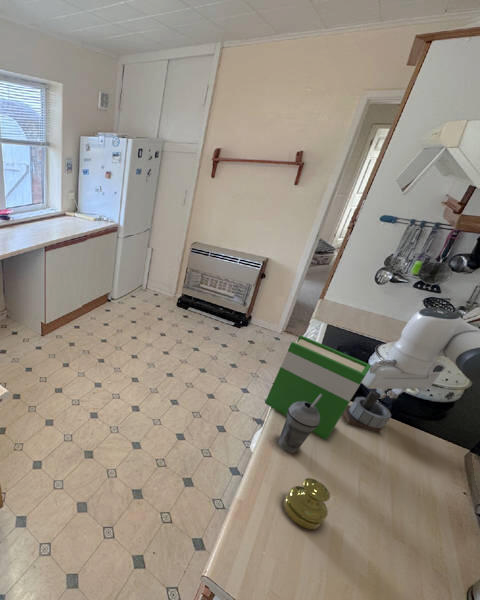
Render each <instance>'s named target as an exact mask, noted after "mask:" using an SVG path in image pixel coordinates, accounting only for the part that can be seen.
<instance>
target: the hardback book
mask: <svg viewBox="0 0 480 600" xmlns="http://www.w3.org/2000/svg"><path fill="white" fill-rule="evenodd" d="M371 366H372V365H371V363H370V364H369V363H367V362H365V361H363V360H360V359H358V358H356V357H353V356H351V355H349V354H346V353H343V352H341V351H340V350H337V349H334V348H332V347H330V346H328V345H325V344H323V343H320V342H318V341H316V340H313V339H311V338H309V337H306V336H304V335H302V334H299V336H298V338H297V341H296V342H294V341H291V343H290V345H289V347H288V349H287V351H286V354H285V356H284V358H283V361H282V363H281V366H280V367H279V369H278V372H277V374H276V376H275V379H274V381H273V383H272V385H271V387H270V390H269V392H268V394H267V397H266V399H265V401H264V404H265V405H267V406H269V407H270V408H272V409H274V410H275V411H277V412H279V413H280V414H282V415H284V416H285V417H287V412H288V408H289V407H290V406H291V405H292V404H293V403H296V402H299V401H305V402H308V403H311V404H313V403H314V401H315V400H316V399H317V398H318V396H319V395H320V394H322V397H321V398H320V399H319V400H318V402H317V403H316V404H315V405H314V406H315V407H316V408H317V410H318V411H319V414H320V421H319V425H318V426H317V427H316V428H315V429H314V430H313V431H312V432H313V434H316V435H317V436H319V437H320V438H322V439H324V440H327V439H328V438H329V437H330V435H331V433H332V432H333V431H334V429H335V427H336V426H337V424H338V422H339V421H340V419H341V417H342V416H343V412H344V411H345V409H346V407H347V406H348V405H350V403H351V400H352V399H353V397H354V395H355V394H356V392H357V390H358V389H359V388H360V386H361V384H362V383H361V382H362V381H363V379H364V377H365V376H366V374H367V372H368V371H369V369H370V367H371ZM312 432H311V433H312Z"/></svg>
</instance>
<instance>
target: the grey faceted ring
mask: <svg viewBox="0 0 480 600" xmlns="http://www.w3.org/2000/svg"><path fill="white" fill-rule="evenodd" d="M365 399H366V397H364V396H357V397H355V398H354V400H353V401H352V404H351V405H350V406H351V407H350V408H349V411H350V413H351V414H352V416H354V417H355V418H356V419H357V420H359V421H360V422H362V423H364V424H366V425H368V426H371V427H374V428H380V429H381V428H382V429H383V428H384V427H385V426H386V425H387V423H388V422H389V420H390V419H391V417H392V413H391V412H390V410H389V409H388V408H387V407H386V406H384V405H383V404H382V403H380V402H378V401H376V403H375V404H374V406H373V407H372V409H371V410H370V412H369V411H367V410H366V409H364V408H363V407H362V406H361V405H362V403H363V402H364V400H365Z"/></svg>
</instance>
